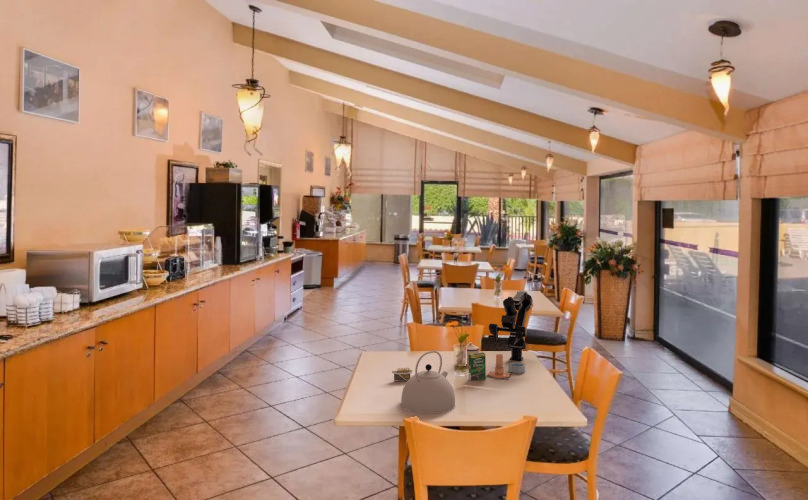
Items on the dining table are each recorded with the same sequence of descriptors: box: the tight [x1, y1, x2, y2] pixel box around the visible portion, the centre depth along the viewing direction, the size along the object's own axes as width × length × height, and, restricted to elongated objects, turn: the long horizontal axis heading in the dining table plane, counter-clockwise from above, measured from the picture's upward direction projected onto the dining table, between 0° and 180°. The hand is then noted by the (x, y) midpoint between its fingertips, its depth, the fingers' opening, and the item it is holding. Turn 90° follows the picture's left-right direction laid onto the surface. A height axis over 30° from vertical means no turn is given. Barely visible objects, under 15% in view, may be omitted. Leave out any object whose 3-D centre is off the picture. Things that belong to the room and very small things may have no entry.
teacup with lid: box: [466, 341, 480, 366], centre depth 303 cm, size 12×9×12 cm
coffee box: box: [468, 352, 487, 381], centre depth 274 cm, size 8×3×13 cm, turn 107°
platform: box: [391, 367, 413, 382], centre depth 272 cm, size 12×18×7 cm, turn 104°
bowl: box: [508, 362, 526, 374], centre depth 288 cm, size 8×8×4 cm
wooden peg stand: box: [488, 353, 511, 380], centre depth 280 cm, size 10×10×10 cm
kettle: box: [400, 350, 456, 415], centre depth 241 cm, size 25×23×22 cm
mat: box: [486, 371, 513, 381], centre depth 281 cm, size 11×11×1 cm
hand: (504, 343), depth 287 cm, fingers open, 9 cm apart
